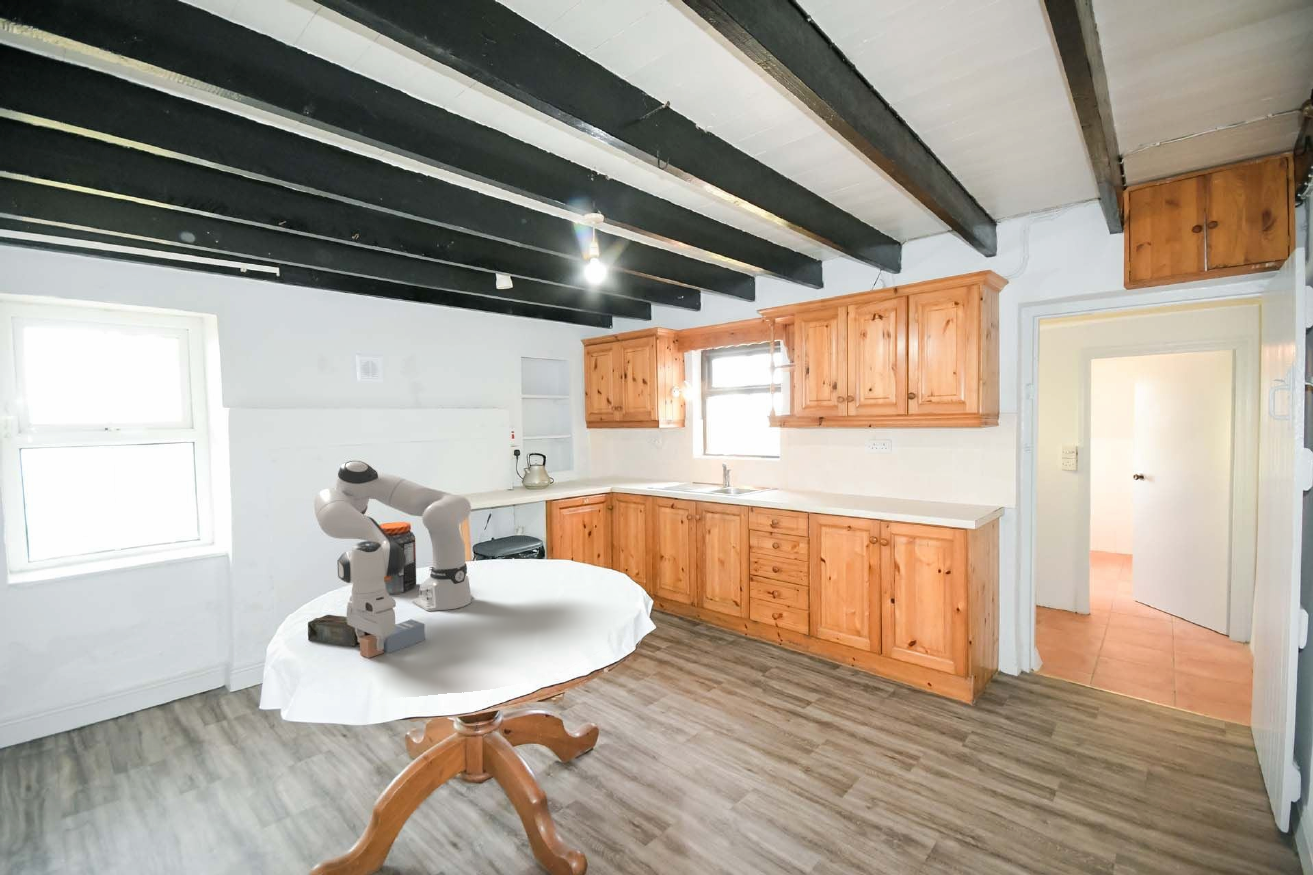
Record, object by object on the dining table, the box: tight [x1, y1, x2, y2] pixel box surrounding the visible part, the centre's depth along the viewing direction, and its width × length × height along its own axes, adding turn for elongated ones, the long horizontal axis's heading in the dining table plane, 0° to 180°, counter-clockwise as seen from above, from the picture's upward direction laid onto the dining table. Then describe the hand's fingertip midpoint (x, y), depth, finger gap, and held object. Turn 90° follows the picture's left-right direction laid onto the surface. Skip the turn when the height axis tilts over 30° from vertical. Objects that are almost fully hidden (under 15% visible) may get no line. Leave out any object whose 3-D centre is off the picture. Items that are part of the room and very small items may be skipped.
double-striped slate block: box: [383, 619, 426, 654], centre depth 171 cm, size 7×12×5 cm, turn 146°
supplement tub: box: [379, 521, 417, 595], centre depth 225 cm, size 16×16×26 cm
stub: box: [359, 634, 384, 659], centre depth 164 cm, size 4×4×5 cm
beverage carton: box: [307, 614, 371, 647], centre depth 176 cm, size 8×19×7 cm, turn 73°
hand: (370, 645), depth 164 cm, fingers open, 8 cm apart
